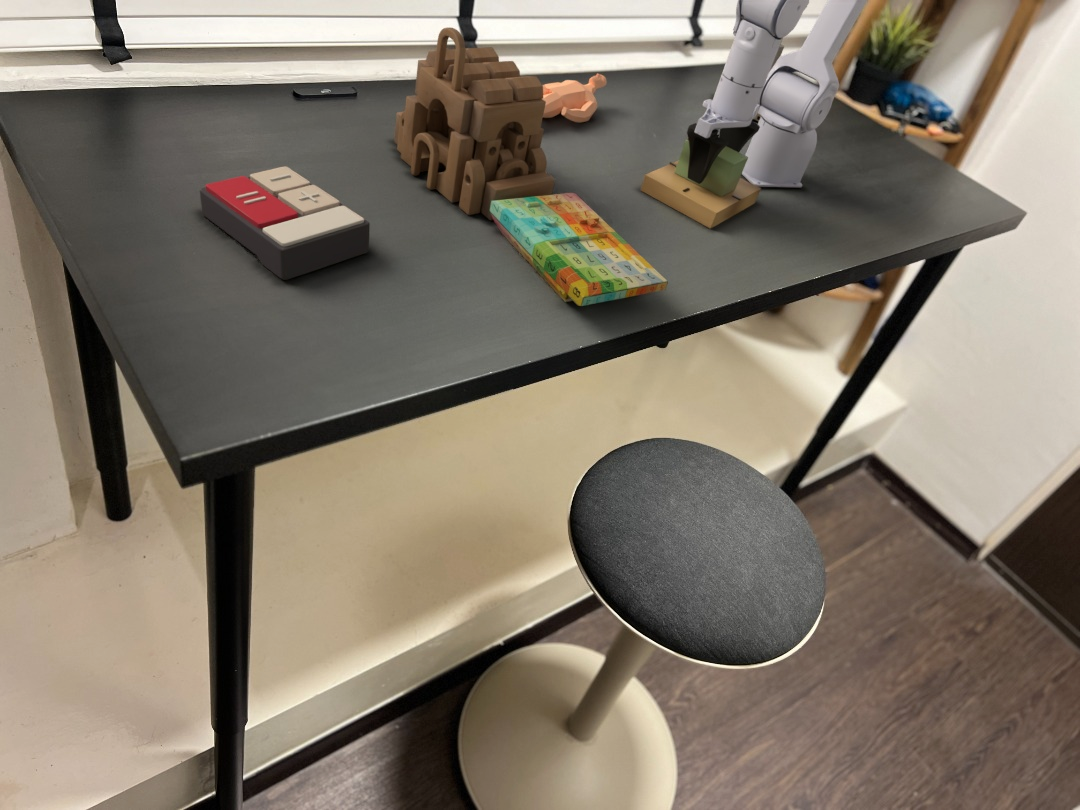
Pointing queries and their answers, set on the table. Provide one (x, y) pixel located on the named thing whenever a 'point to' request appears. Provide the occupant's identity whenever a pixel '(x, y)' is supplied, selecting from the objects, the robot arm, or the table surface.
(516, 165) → the wooden puzzle
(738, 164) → the box
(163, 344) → the table surface
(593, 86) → the male figurine
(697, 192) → the tan flat block
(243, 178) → the calculator
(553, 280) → the puzzle game
